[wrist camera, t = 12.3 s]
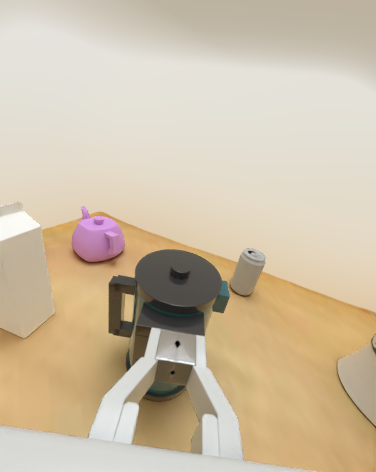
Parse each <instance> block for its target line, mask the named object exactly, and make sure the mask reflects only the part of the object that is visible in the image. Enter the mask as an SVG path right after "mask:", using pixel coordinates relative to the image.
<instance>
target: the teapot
mask: <svg viewBox="0 0 376 472" xmlns="http://www.w3.org/2000/svg"><path fill="white" fill-rule="evenodd" d="M81 209H82V213H83V218H82V221H80V222H79V224H78V225H77V227H76V229H75V231H74V233H73V237H72V247H73V249H74V251H75V252H76V253H77V254H78V255H79V256H80V257H81V258H83V259H84V260H86V261H89V262H98V261H103V260H107V259H110V258H113V257H115V256H117V255H118V254H120V253H121V252H122V250H123V249H124V247H125V241H124V236H123V233H122V231H121V229H120V227H119V225H118V224H117V223H116V222H115V221H113V220H112V219H110V218H108V217H102V216H95V217H93V218H90V216H89V214H88V211H87V209H86V208H85V207H83V206H82V207H81Z"/></svg>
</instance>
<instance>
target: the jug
mask: <svg viewBox="0 0 376 472" xmlns="http://www.w3.org/2000/svg"><path fill="white" fill-rule="evenodd" d="M125 294H131V295H134V301H133V313H132V322H128V321H124V307H125ZM229 297H230V296H229V291H228V286H227V282H226V281H222V280H221V276H220V274H219V272H218V271H217V269H216V268H215V267H214V266H213V265H212V264H211V263H210V262H208V261H207V260H206V259H204V258H202V257H200V256H198V255H196V254H193V253H190V252H186V251H182V250H160V251H155V252H152V253H150V254H148V255H146V256H145V257H143V258H142V259H141V260H140V261H139V263H138V264H137V266H136V269H135V278H132V277H126V276H121V275H118V277H116V276H113V278H112V279H111V281H110V282H109V333H112V334H113V335H116V336H122V337H128V338H130V347H129V349H128V352H127V357H126V372H127V371H128V370H129V369H130V368H131V367H132V366H133V365H134V364H135V363H136V362H137V361H138V360H139V359H140V358H141V357H144V356H145V352H146V348H147V344H148V340H149V336H150V332H151V329H152V327H153V328H159V329H164V330H169V331H174V332H182V333H188V334H195V335H199V336H205V332H206V329H207V326H208V323H209V320H210V317H211V314H212V312H213V311H214V312H220V313H224V310H225V308H226V305H227V303H228V300H229ZM160 332H161V331H160ZM185 389H186V386H184V385H179V384H174V383H168V382H160V381H154V382H153V384H152V385H151V386H150V388H149V389H148V390H147V392H146V393H145V395H144V396H143V397H144V398H146V399H148V400H152V401H167V400H171V399H173V398H175V397H177V396H178V395H180V394H181V393H182V392H183V391H184V390H185Z"/></svg>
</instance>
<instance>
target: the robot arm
mask: <svg viewBox="0 0 376 472" xmlns="http://www.w3.org/2000/svg"><path fill="white" fill-rule="evenodd" d="M160 331H161V332H160ZM337 369H338V374H339V377H340V380H341V382H342V384H343V386H344V388H345V390H346V391H347V393H348V395H349V396H350V398H351V399H352V400H353V402H354V403H355V404H356V405H357V407H358V408H359V409H360V410H361V411H362V412H363V414H364V415H365V416H366V417H367V418H368V419H369V420H370V421H371V422H372V423H373V424H374V425H375V427H376V334H375V335H374V337H373V338H372V340H371V341H370V342H369V343H368V344H366V345H365V346H364V347H362V348H361V349H359V350H357V351H356V352H354V353H352V354H349V355H347V356H344V357H342V358H340V360H339V361H338V365H337ZM154 381H160V382H168V383H174V384H179V385H184V386H186V388H187V391H188V394H189V396H190V399H191V402H192V404H193V407H194V409H195V412H196V415H197V417H198V420H199V425H198V427H197V429H196V431H195V433H194V435H193V437H192V439H191V453H189V452H183V451H176V450H169V449H162V448H155V447H148V446H141V445H134V444H133V441H134V436H135V431H136V425H137V419H138V412H139V406H138V403H139V401H140V400H141V399H142V397H143V396H144V395H145V393H146V392H147V390H148V389H149V388H150V386H151V385H152V384H153V382H154ZM0 472H320V471H313V470H306V469H299V468H293V467H286V466H279V465H272V464H265V463H258V462H251V461H244V457H243V450H242V443H241V436H240V429H239V422H238V417H237V415H236V414H235V412H234V410H233V408H232V407H231V405H230V403H229V402H228V400H227V398H226V396H225V395H224V393H223V391H222V389H221V388H220V386H219V384H218V382H217V381H216V379H215V377H214V375H213V374H212V372H211V370H210V368H207V363H206V339H205V336H199V335H195V334H188V333H182V332H174V331H169V330H164V329H159V328H153V327H152V329H151V332H150V336H149V340H148V344H147V348H146V352H145V356H144V357H141V358H140V359H139V360H138V361H137V362H136V363H135V364H134V365H133V366H132V367H131V368H130V369H129V370H128V371H127V372H126V373H125V374H124V376H123V377H122V378H121V379H120V380H119V381H118V382H117V383H116V384H115V385H114V386H113V387H112V388H111V389H110V390H109V391H108V392H107V393H106V394H105V395H104V396H103V399H102V401H101V404H100V406H99V409H98V412H97V414H96V417H95V420H94V422H93V425H92V428H91V430H90V433H89V436H88V438H86V437H79V436H72V435H65V434H59V433H52V432H45V431H38V430H31V429H24V428H17V427H10V426H3V425H0Z"/></svg>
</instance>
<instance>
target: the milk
mask: <svg viewBox="0 0 376 472" xmlns="http://www.w3.org/2000/svg"><path fill="white" fill-rule="evenodd" d="M53 314H55V307H54V301H53V295H52V290H51V284H50V278H49V272H48V266H47V260H46V254H45V248H44V242H43V236H42V230H41V226H40V225H39V224H38V223H37V222H35V221H34V220H33V219H32V218H31V217H30V216H29V215H28V214H26V213H25V212H24V211H23V207H22V203H21V202H14V203H10V204H5V205H0V328H2V329H4V330H6V331H8V332H11V333H13V334H15V335H17V336H20V337H22V338H24V339H25V338H26V337H28V336H29V335H30V334H31V333H32V332H33V331H35V330H36V329H37V328H38V327H39V326H40V325H42V324H43V323H44V322H45V321H46V320H48V319H49V318H50V317H51V316H52V315H53Z"/></svg>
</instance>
